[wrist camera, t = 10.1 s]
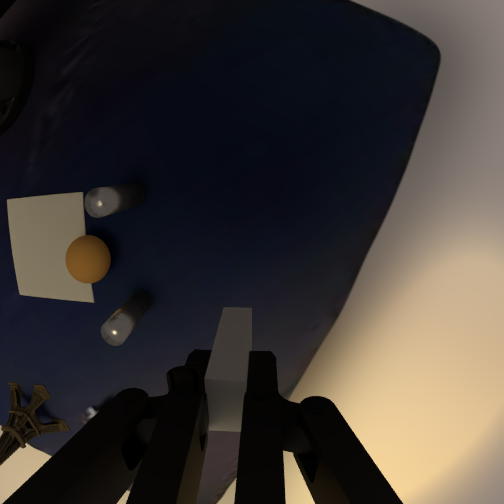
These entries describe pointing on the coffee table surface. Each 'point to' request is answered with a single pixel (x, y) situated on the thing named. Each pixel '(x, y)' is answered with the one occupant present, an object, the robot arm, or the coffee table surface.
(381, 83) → the coffee table surface
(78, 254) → the ball
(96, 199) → the post
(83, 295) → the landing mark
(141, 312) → the post
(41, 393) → the eiffel tower
